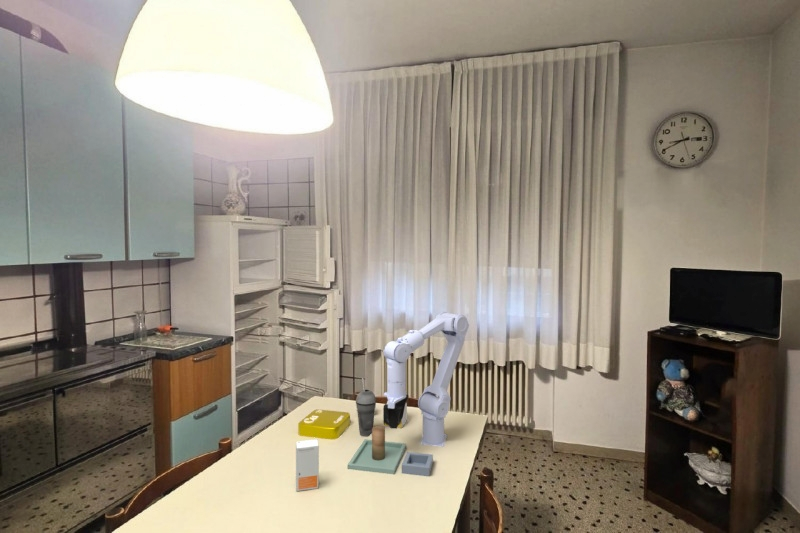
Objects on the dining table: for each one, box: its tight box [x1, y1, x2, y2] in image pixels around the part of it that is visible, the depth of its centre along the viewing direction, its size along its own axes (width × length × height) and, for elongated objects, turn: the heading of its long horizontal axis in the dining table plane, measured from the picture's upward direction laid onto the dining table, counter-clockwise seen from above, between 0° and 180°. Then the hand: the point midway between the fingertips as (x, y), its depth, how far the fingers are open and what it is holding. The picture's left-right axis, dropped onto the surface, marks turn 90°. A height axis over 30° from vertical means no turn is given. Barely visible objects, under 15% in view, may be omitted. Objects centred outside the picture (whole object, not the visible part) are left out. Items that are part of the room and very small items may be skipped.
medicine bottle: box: [382, 398, 408, 429], centre depth 156 cm, size 7×7×12 cm
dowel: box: [371, 425, 386, 461], centre depth 129 cm, size 4×4×9 cm
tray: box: [347, 439, 407, 475], centre depth 129 cm, size 17×14×2 cm
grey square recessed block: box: [401, 451, 434, 477], centre depth 123 cm, size 8×8×3 cm
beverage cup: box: [355, 377, 377, 437], centre depth 147 cm, size 7×7×20 cm
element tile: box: [297, 409, 351, 440], centre depth 151 cm, size 15×15×5 cm
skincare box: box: [295, 438, 320, 492], centre depth 114 cm, size 6×4×12 cm
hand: (396, 422), depth 131 cm, fingers open, 7 cm apart
